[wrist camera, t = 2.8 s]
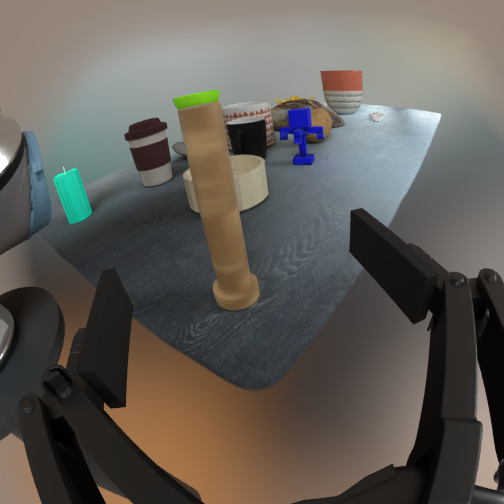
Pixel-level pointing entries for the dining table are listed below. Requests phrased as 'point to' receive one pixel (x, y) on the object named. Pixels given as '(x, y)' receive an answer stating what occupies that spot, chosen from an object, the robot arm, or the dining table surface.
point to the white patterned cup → (250, 111)
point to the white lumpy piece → (377, 116)
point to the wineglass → (196, 99)
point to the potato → (320, 123)
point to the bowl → (239, 182)
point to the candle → (73, 195)
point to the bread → (282, 109)
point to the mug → (248, 136)
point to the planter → (342, 90)
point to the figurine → (301, 133)
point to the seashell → (180, 148)
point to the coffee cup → (150, 151)
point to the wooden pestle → (218, 204)
